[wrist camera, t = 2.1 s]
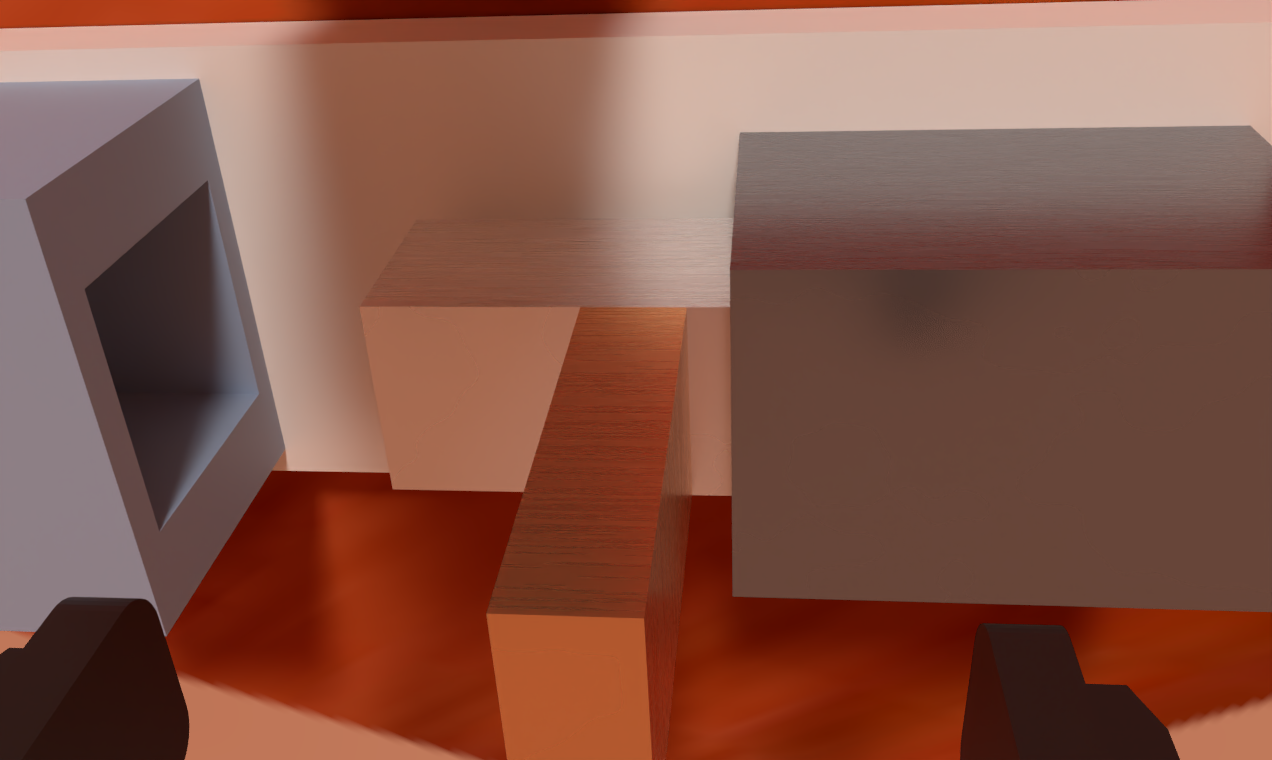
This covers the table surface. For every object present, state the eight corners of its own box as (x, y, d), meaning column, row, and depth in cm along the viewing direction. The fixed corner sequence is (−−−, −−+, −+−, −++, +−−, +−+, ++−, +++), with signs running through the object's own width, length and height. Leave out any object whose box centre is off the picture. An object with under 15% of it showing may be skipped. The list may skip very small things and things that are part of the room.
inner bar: (1223, 215, 17) (1589, 647, 10) (1184, 392, 19) (1474, 890, 11) (416, 220, 19) (162, 603, 11) (441, 385, 20) (234, 826, 12)
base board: (1271, -3, 18) (1309, 21, 17) (1175, 439, 22) (1201, 486, 21) (-24, 29, 20) (-77, 52, 19) (104, 425, 24) (66, 466, 23)
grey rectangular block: (1249, 125, 18) (1404, 268, 13) (1187, 413, 20) (1300, 613, 16) (739, 132, 18) (729, 270, 14) (740, 408, 21) (732, 596, 17)
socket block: (198, 79, 19) (24, 199, 14) (285, 448, 22) (166, 636, 18) (-32, 83, 19) (-270, 201, 15) (89, 446, 23) (-74, 627, 18)
